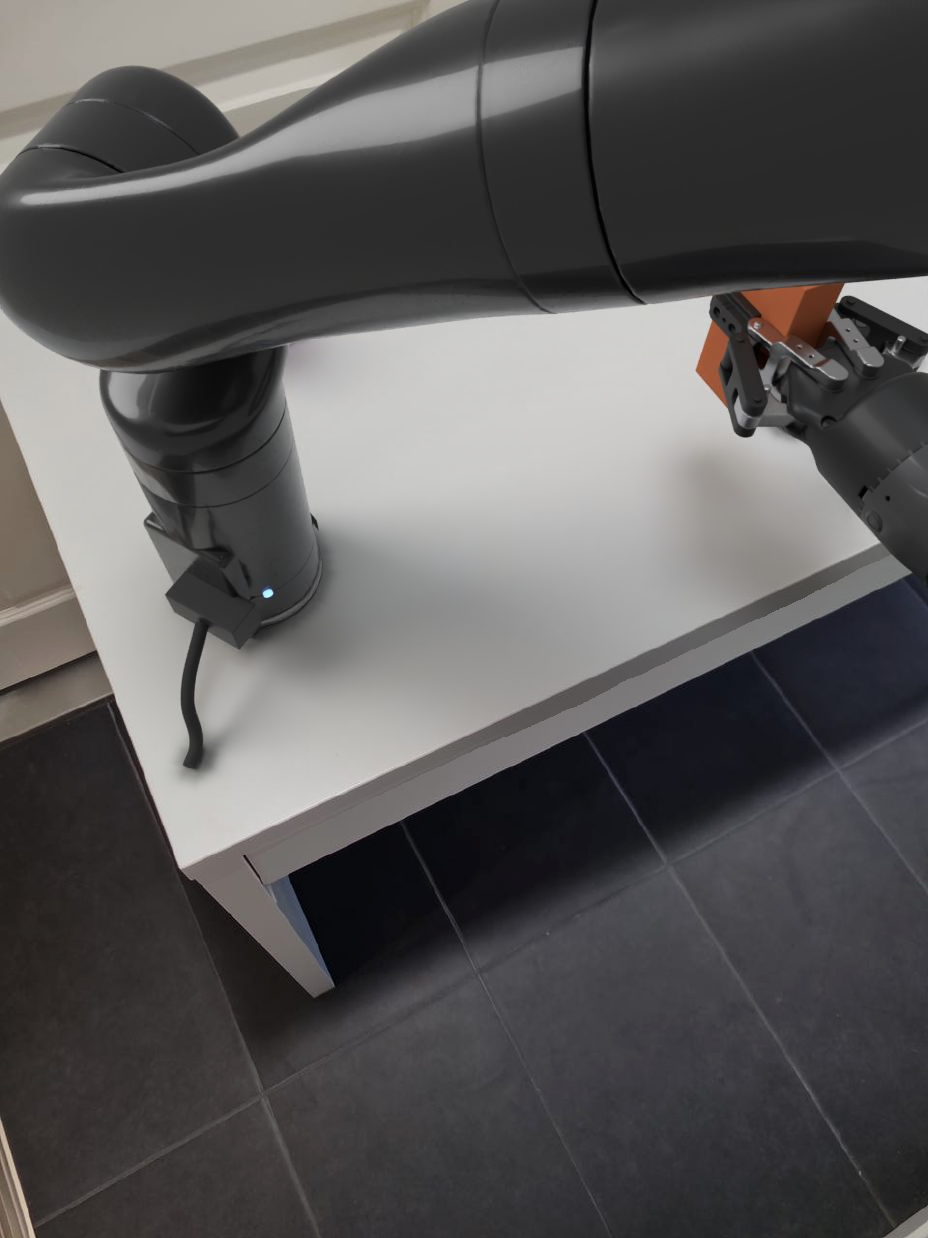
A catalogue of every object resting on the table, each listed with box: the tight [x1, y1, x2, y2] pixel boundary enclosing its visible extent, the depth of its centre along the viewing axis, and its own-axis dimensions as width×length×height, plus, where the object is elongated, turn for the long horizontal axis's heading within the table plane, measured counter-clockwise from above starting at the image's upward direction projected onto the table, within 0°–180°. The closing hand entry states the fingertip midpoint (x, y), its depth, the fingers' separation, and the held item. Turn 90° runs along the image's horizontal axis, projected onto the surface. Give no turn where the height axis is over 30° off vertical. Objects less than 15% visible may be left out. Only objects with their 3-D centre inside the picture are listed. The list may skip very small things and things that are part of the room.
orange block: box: [695, 283, 846, 409], centre depth 55 cm, size 3×6×11 cm, turn 26°
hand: (741, 286), depth 56 cm, fingers closed on orange block, 3 cm apart
